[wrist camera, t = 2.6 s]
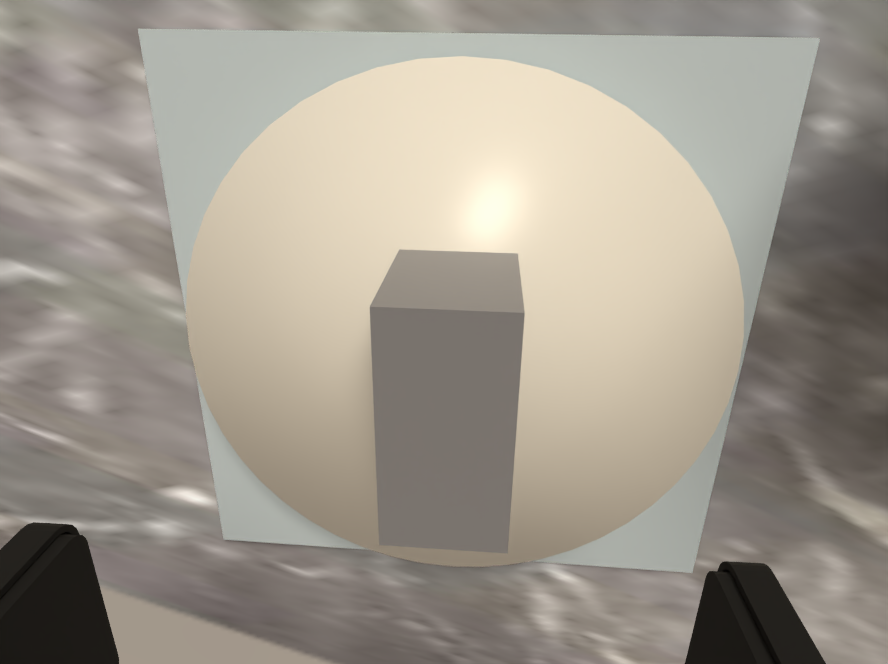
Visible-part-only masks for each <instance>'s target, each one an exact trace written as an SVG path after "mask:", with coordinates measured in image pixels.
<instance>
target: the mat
mask: <svg viewBox="0 0 888 664" xmlns="http://www.w3.org/2000/svg"><path fill="white" fill-rule="evenodd" d="M138 32H139V38H140V44H141V50H142V56H143V62H144V68H145V74H146V80H147V86H148V92H149V98H150V104H151V110H152V116H153V122H154V128H155V134H156V140H157V146H158V151H159V157H160V163H161V169H162V175H163V181H164V187H165V193H166V199H167V205H168V211H169V217H170V223H171V229H172V235H173V241H174V247H175V253H176V259H177V265H178V270H179V276H180V282H181V288H182V294H183V300H184V306H185V312H186V298H187V279H188V273H189V268H190V262H191V257H192V251H193V246H194V243H195V240H196V238H197V235H198V232H199V229H200V226H201V223H202V220H203V217H204V214H205V212H206V210H207V208H208V206H209V204H210V202H211V201H212V199H213V197H214V195H215V193H216V191H217V189H218V187H219V185H220V183H221V182H222V180H223V179H224V177H225V176H226V175H227V173H228V172H229V170H230V169H231V168H232V166H233V165H234V164H235V162H236V161H237V159H238V158H239V157H240V155H241V154H242V153H243V151H244V150H245V149H246V148H247V147H248V146H249V145H250V144H251V143H252V142H253V141H254V140H255V139H256V138H257V137H258V136H259V135H260V134H261V133H262V132H263V131H264V130H265V129H266V128H267V127H268V126H269V125H270V124H272V123H273V122H274V121H276V120H277V119H278V118H280V117H281V116H282V115H284V114H285V113H286V112H288V111H289V110H290V109H292V108H293V107H294V106H296V105H297V104H298V103H300V102H301V101H303V100H304V99H306V98H308V97H310V96H312V95H314V94H316V93H317V92H319V91H321V90H323V89H325V88H327V87H328V86H330V85H332V84H334V83H336V82H338V81H341V80H343V79H346V78H349V77H352V76H354V75H357V74H360V73H363V72H365V71H368V70H371V69H374V68H376V67H381V66H386V65H391V64H395V63H400V62H405V61H410V60H415V59H422V58H439V57H455V56H467V57H479V58H491V59H503V60H509V61H514V62H518V63H522V64H527V65H531V66H535V67H539V68H544V69H548V70H551V71H554V72H556V73H559V74H561V75H564V76H566V77H569V78H572V79H574V80H577V81H579V82H582V83H584V84H587V85H589V86H591V87H593V88H595V89H597V90H598V91H600V92H602V93H604V94H605V95H607V96H609V97H611V98H612V99H614V100H616V101H618V102H619V103H621V104H623V105H625V106H626V107H628V108H629V109H630V110H632V111H633V112H634V113H636V114H637V115H638V116H639V117H641V118H642V119H643V120H644V121H646V122H647V123H648V124H650V125H651V126H652V127H653V128H655V129H656V130H657V131H658V132H660V133H661V134H662V135H663V136H664V137H665V138H666V139H667V141H668V142H669V143H670V144H671V145H672V146H673V147H674V148H675V149H676V150H677V151H678V152H679V153H680V154H681V155H682V156H683V158H684V159H685V160H686V161H687V162H688V163H689V164H690V166H691V167H692V169H693V170H694V172H695V173H696V174H697V176H698V177H699V179H700V180H701V182H702V183H703V185H704V186H705V187H706V189H707V190H708V192H709V193H710V195H711V196H712V198H713V201H714V203H715V205H716V207H717V209H718V211H719V213H720V215H721V217H722V219H723V221H724V223H725V225H726V227H727V229H728V232H729V235H730V239H731V242H732V245H733V248H734V252H735V255H736V258H737V262H738V265H739V270H740V277H741V284H742V291H743V298H744V339H743V345H742V351H741V358H740V364H739V370H738V374H737V377H736V380H735V383H734V387H733V390H732V393H731V396H730V400H729V403H728V405H727V407H726V409H725V411H724V413H723V415H722V417H721V420H720V422H719V424H718V426H717V428H716V430H715V432H714V434H713V435H712V437H711V438H710V440H709V441H708V443H707V445H706V446H705V448H704V449H703V451H702V452H701V454H700V455H699V457H698V458H697V460H696V461H695V462H694V463H693V464H692V466H691V467H690V468H689V469H688V470H687V472H686V473H685V474H684V475H683V476H682V477H681V479H680V480H679V481H678V482H677V483H676V484H675V485H674V486H673V487H672V488H671V489H670V490H669V491H668V492H666V493H665V494H664V495H663V496H662V497H661V498H660V499H659V500H658V501H657V502H655V503H654V504H653V505H652V506H651V507H649V508H648V509H646V510H645V511H644V512H642V513H641V514H639V515H638V516H637V517H635V518H634V519H632V520H631V521H630V522H628V523H627V524H625V525H623V526H621V527H619V528H618V529H616V530H614V531H612V532H610V533H609V534H607V535H605V536H603V537H601V538H599V539H597V540H595V541H592V542H590V543H587V544H585V545H583V546H580V547H578V548H575V549H573V550H570V551H567V552H563V553H560V554H557V555H553V556H550V557H547V558H543V559H539V560H533V561H532V562H546V563H560V564H574V565H589V566H603V567H617V568H631V569H645V570H659V571H673V572H687V573H692V572H693V568H694V564H695V560H696V556H697V551H698V547H699V543H700V539H701V535H702V530H703V526H704V522H705V518H706V514H707V509H708V505H709V501H710V497H711V493H712V489H713V484H714V480H715V476H716V472H717V468H718V463H719V459H720V455H721V451H722V447H723V442H724V438H725V434H726V430H727V426H728V422H729V417H730V413H731V409H732V405H733V401H734V396H735V392H736V388H737V384H738V380H739V375H740V371H741V367H742V363H743V359H744V355H745V350H746V346H747V342H748V338H749V334H750V329H751V325H752V321H753V317H754V313H755V309H756V304H757V300H758V296H759V292H760V288H761V283H762V279H763V275H764V271H765V267H766V262H767V258H768V254H769V250H770V246H771V242H772V237H773V233H774V229H775V225H776V221H777V216H778V212H779V208H780V204H781V200H782V195H783V191H784V187H785V183H786V179H787V175H788V170H789V166H790V162H791V158H792V154H793V149H794V145H795V141H796V137H797V133H798V129H799V124H800V120H801V116H802V112H803V108H804V103H805V99H806V95H807V91H808V87H809V82H810V78H811V74H812V70H813V66H814V62H815V57H816V53H817V49H818V45H819V41H820V38H782V37H709V36H635V35H561V34H488V33H414V32H341V31H267V30H194V29H138ZM196 378H197V376H196ZM197 384H198V389H199V395H200V401H201V407H202V413H203V419H204V425H205V431H206V437H207V443H208V449H209V455H210V461H211V467H212V473H213V479H214V485H215V491H216V497H217V503H218V508H219V514H220V520H221V526H222V532H223V538H224V540H238V541H252V542H266V543H280V544H294V545H308V546H322V547H336V548H350V549H364V550H370V549H367V548H364V547H361V546H359V545H357V544H355V543H352V542H350V541H348V540H346V539H343V538H341V537H339V536H337V535H334V534H333V533H331V532H329V531H327V530H326V529H324V528H322V527H320V526H319V525H317V524H315V523H313V522H312V521H310V520H308V519H307V518H305V517H304V516H303V515H301V514H300V513H298V512H297V511H296V510H294V509H293V508H291V507H290V506H289V505H287V504H286V503H284V502H283V501H282V500H281V499H280V498H279V497H278V496H277V495H275V494H274V493H273V492H272V491H271V490H270V489H269V488H268V487H266V486H265V485H264V484H263V483H262V482H261V481H260V480H259V479H258V478H257V477H256V475H255V474H254V473H253V472H252V471H251V470H250V469H249V468H248V466H247V465H246V464H245V463H244V462H243V461H242V460H241V459H240V457H239V456H238V454H237V453H236V452H235V450H234V449H233V447H232V446H231V444H230V443H229V442H228V440H227V439H226V437H225V436H224V434H223V433H222V431H221V429H220V427H219V425H218V424H217V422H216V420H215V418H214V416H213V414H212V412H211V411H210V409H209V407H208V405H207V402H206V399H205V397H204V394H203V392H202V389H201V386H200V384H199V381H198V379H197Z"/></svg>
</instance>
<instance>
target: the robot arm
mask: <svg viewBox="0 0 888 664" xmlns="http://www.w3.org/2000/svg"><path fill="white" fill-rule="evenodd" d="M0 664H119V657H118V653H117V649H116V645H115V642H114V638H113V635H112V631H111V627H110V624H109V620H108V617H107V612H106V609H105V605H104V601H103V597H102V594H101V590H100V586H99V583H98V579H97V575H96V572H95V568H94V564H93V560H92V557H91V553H90V549H89V546H88V542H87V540H86V538H85V537H84V536H83V535H79V533H78V530H77V528H75V527H74V526H73V525H68V524H52V523H31V524H28V525H26V526H25V527H24V528H22V529H21V530H20V531H19V532H18V533H17V534H16V535H15V536H14V537H13V538H12V539H11V540H10V541H9V542H8V543H7V544H6V545H5V546H4V547H3V548H2V549H1V550H0ZM685 664H826V663H825V661H824V660H823V658H822V656H821V655H820V653H819V651H818V649H817V648H816V646H815V644H814V642H813V641H812V639H811V637H810V636H809V634H808V632H807V630H806V629H805V627H804V625H803V624H802V622H801V620H800V618H799V617H798V615H797V613H796V611H795V610H794V608H793V606H792V605H791V603H790V601H789V599H788V598H787V596H786V594H785V592H784V591H783V589H782V587H781V586H780V584H779V582H778V580H777V579H776V577H775V575H774V574H773V572H772V571H771V569H770V568H769V567H768V566H767V565H765V564H761V563H743V562H722V563H721V564H720V566H719V568H718V571H717V572H716V571H709V573H708V574H707V576H706V579H705V583H704V588H703V592H702V596H701V600H700V604H699V608H698V612H697V616H696V621H695V625H694V629H693V633H692V637H691V641H690V645H689V649H688V654H687V658H686V662H685Z"/></svg>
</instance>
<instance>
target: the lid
mask: <svg viewBox="0 0 888 664" xmlns="http://www.w3.org/2000/svg"><path fill="white" fill-rule="evenodd" d="M186 319H187V329H188V339H189V347H190V351H191V355H192V359H193V363H194V367H195V372H196V376H197V379H198V381H199V384H200V386H201V389H202V392H203V394H204V397H205V399H206V402H207V405H208V407H209V409H210V411H211V412H212V414H213V416H214V418H215V420H216V422H217V424H218V425H219V427H220V429H221V431H222V433H223V434H224V436H225V437H226V439H227V440H228V442H229V443H230V444H231V446H232V447H233V449H234V450H235V452H236V453H237V454H238V456H239V457H240V459H241V460H242V461H243V462H244V463H245V464H246V465H247V466H248V468H249V469H250V470H251V471H252V472H253V473H254V474H255V475H256V477H257V478H258V479H259V480H260V481H261V482H262V483H263V484H264V485H265V486H266V487H268V488H269V489H270V490H271V491H272V492H273V493H274V494H275V495H277V496H278V497H279V498H280V499H281V500H282V501H283V502H284V503H286V504H287V505H289V506H290V507H291V508H293V509H294V510H296V511H297V512H298V513H300V514H301V515H303V516H304V517H305V518H307V519H308V520H310V521H312V522H313V523H315V524H317V525H319V526H320V527H322V528H324V529H326V530H327V531H329V532H331V533H333V534H334V535H337V536H339V537H341V538H343V539H346V540H348V541H350V542H352V543H355V544H357V545H359V546H361V547H364V548H367V549H370V550H373V551H376V552H379V553H382V554H386V555H389V556H392V557H396V558H401V559H406V560H410V561H415V562H419V563H426V564H435V565H443V566H455V567H487V566H499V565H511V564H517V563H522V562H528V561H533V560H539V559H543V558H547V557H550V556H553V555H557V554H560V553H563V552H567V551H570V550H573V549H575V548H578V547H580V546H583V545H585V544H587V543H590V542H592V541H595V540H597V539H599V538H601V537H603V536H605V535H607V534H609V533H610V532H612V531H614V530H616V529H618V528H619V527H621V526H623V525H625V524H627V523H628V522H630V521H631V520H632V519H634V518H635V517H637V516H638V515H639V514H641V513H642V512H644V511H645V510H646V509H648V508H649V507H651V506H652V505H653V504H654V503H655V502H657V501H658V500H659V499H660V498H661V497H662V496H663V495H664V494H665V493H666V492H668V491H669V490H670V489H671V488H672V487H673V486H674V485H675V484H676V483H677V482H678V481H679V480H680V479H681V477H682V476H683V475H684V474H685V473H686V472H687V470H688V469H689V468H690V467H691V466H692V464H693V463H694V462H695V461H696V460H697V458H698V457H699V455H700V454H701V452H702V451H703V449H704V448H705V446H706V445H707V443H708V441H709V440H710V438H711V437H712V435H713V434H714V432H715V430H716V428H717V426H718V424H719V422H720V420H721V417H722V415H723V413H724V411H725V409H726V407H727V405H728V403H729V400H730V396H731V393H732V390H733V387H734V383H735V380H736V377H737V374H738V370H739V364H740V358H741V351H742V345H743V339H744V298H743V291H742V284H741V277H740V270H739V265H738V262H737V258H736V255H735V252H734V248H733V245H732V242H731V239H730V235H729V232H728V229H727V227H726V225H725V223H724V221H723V219H722V217H721V215H720V213H719V211H718V209H717V207H716V205H715V203H714V201H713V198H712V196H711V195H710V193H709V192H708V190H707V189H706V187H705V186H704V185H703V183H702V182H701V180H700V179H699V177H698V176H697V174H696V173H695V172H694V170H693V169H692V167H691V166H690V164H689V163H688V162H687V161H686V160H685V159H684V158H683V156H682V155H681V154H680V153H679V152H678V151H677V150H676V149H675V148H674V147H673V146H672V145H671V144H670V143H669V142H668V141H667V139H666V138H665V137H664V136H663V135H662V134H661V133H660V132H658V131H657V130H656V129H655V128H653V127H652V126H651V125H650V124H648V123H647V122H646V121H644V120H643V119H642V118H641V117H639V116H638V115H637V114H636V113H634V112H633V111H632V110H630V109H629V108H628V107H626V106H625V105H623V104H621V103H619V102H618V101H616V100H614V99H612V98H611V97H609V96H607V95H605V94H604V93H602V92H600V91H598V90H597V89H595V88H593V87H591V86H589V85H587V84H584V83H582V82H579V81H577V80H574V79H572V78H569V77H566V76H564V75H561V74H559V73H556V72H554V71H551V70H548V69H544V68H539V67H535V66H531V65H527V64H522V63H518V62H514V61H509V60H503V59H491V58H479V57H467V56H455V57H439V58H422V59H415V60H410V61H405V62H400V63H395V64H391V65H386V66H381V67H376V68H374V69H371V70H368V71H365V72H363V73H360V74H357V75H354V76H352V77H349V78H346V79H343V80H341V81H338V82H336V83H334V84H332V85H330V86H328V87H327V88H325V89H323V90H321V91H319V92H317V93H316V94H314V95H312V96H310V97H308V98H306V99H304V100H303V101H301V102H300V103H298V104H297V105H296V106H294V107H293V108H292V109H290V110H289V111H288V112H286V113H285V114H284V115H282V116H281V117H280V118H278V119H277V120H276V121H274V122H273V123H272V124H270V125H269V126H268V127H267V128H266V129H265V130H264V131H263V132H262V133H261V134H260V135H259V136H258V137H257V138H256V139H255V140H254V141H253V142H252V143H251V144H250V145H249V146H248V147H247V148H246V149H245V150H244V151H243V153H242V154H241V155H240V157H239V158H238V159H237V161H236V162H235V164H234V165H233V166H232V168H231V169H230V170H229V172H228V173H227V175H226V176H225V177H224V179H223V180H222V182H221V183H220V185H219V187H218V189H217V191H216V193H215V195H214V197H213V199H212V201H211V202H210V204H209V206H208V208H207V210H206V212H205V214H204V217H203V220H202V223H201V226H200V229H199V232H198V235H197V238H196V240H195V243H194V246H193V251H192V257H191V262H190V268H189V273H188V279H187V298H186Z"/></svg>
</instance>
